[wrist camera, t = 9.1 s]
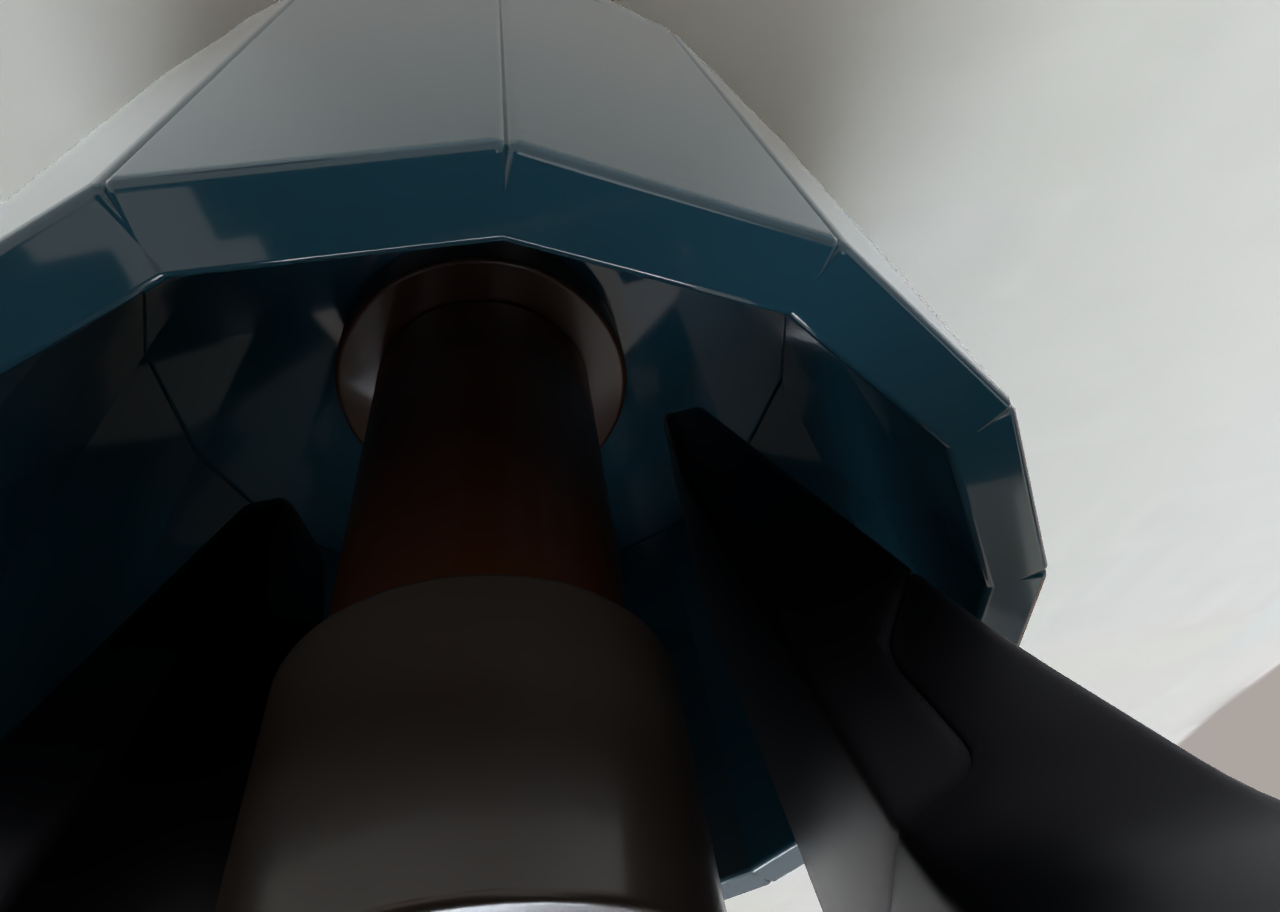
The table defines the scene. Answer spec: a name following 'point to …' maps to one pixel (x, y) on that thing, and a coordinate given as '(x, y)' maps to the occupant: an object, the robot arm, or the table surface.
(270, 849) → the flanged grey cylinder
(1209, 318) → the table surface
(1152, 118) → the table surface
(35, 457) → the faceted blue grey bowl
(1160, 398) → the table surface
